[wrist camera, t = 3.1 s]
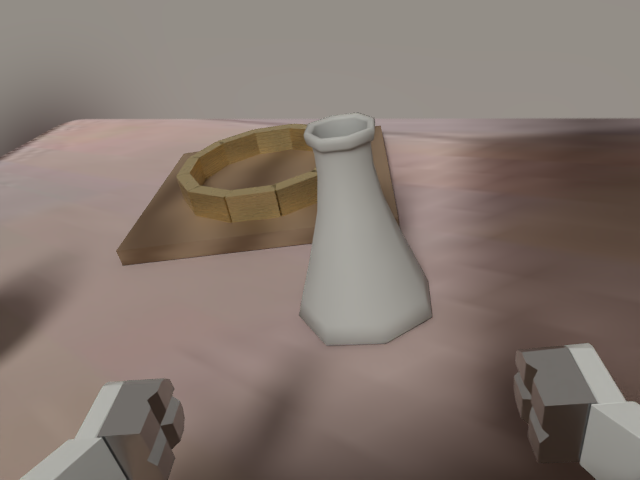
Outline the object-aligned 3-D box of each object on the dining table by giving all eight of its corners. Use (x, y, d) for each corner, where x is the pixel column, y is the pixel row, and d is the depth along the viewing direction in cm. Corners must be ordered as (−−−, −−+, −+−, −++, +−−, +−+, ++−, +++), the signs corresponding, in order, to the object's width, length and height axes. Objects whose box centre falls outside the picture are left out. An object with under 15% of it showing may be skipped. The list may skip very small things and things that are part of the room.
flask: (289, 281, 29) (250, 119, 24) (405, 251, 30) (391, 87, 25) (313, 367, 23) (267, 176, 18) (457, 328, 24) (453, 132, 19)
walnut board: (381, 137, 46) (380, 125, 46) (399, 233, 32) (398, 216, 31) (187, 165, 48) (184, 153, 48) (122, 265, 34) (116, 250, 34)
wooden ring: (349, 137, 44) (346, 115, 43) (352, 208, 33) (348, 181, 32) (208, 157, 46) (202, 137, 45) (165, 231, 35) (155, 206, 34)
